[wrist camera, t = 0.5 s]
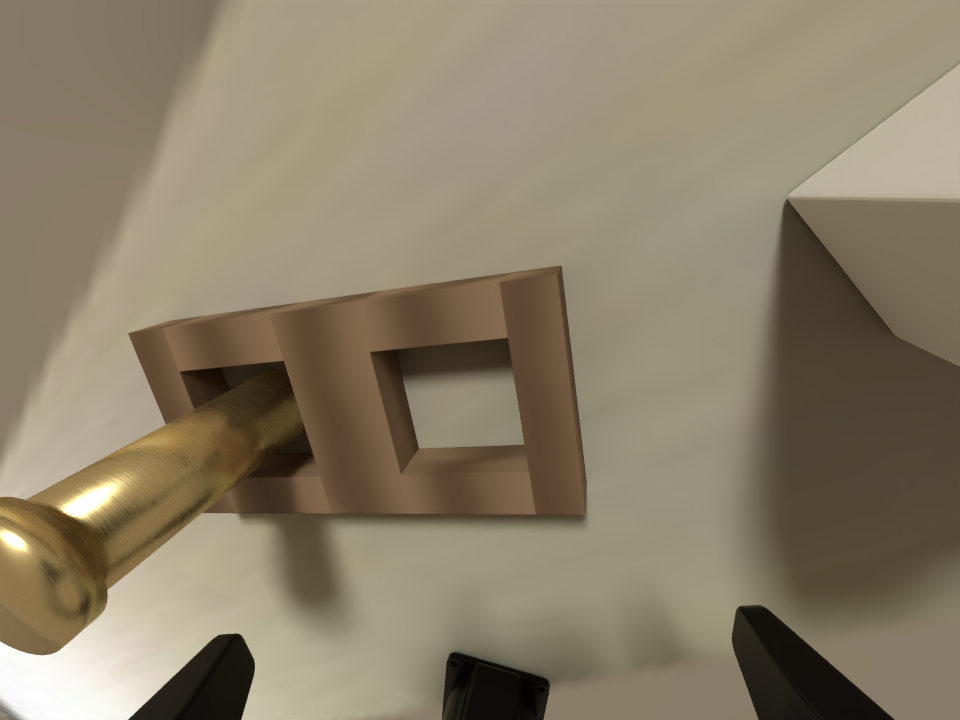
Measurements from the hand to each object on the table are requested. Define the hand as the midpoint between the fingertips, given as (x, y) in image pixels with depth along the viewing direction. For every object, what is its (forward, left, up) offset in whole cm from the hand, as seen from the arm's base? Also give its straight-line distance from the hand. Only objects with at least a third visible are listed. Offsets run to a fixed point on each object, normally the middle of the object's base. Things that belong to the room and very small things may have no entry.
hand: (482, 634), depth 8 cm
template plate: (-4, +9, -14) cm, 18 cm away
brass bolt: (-5, +15, -15) cm, 21 cm away
